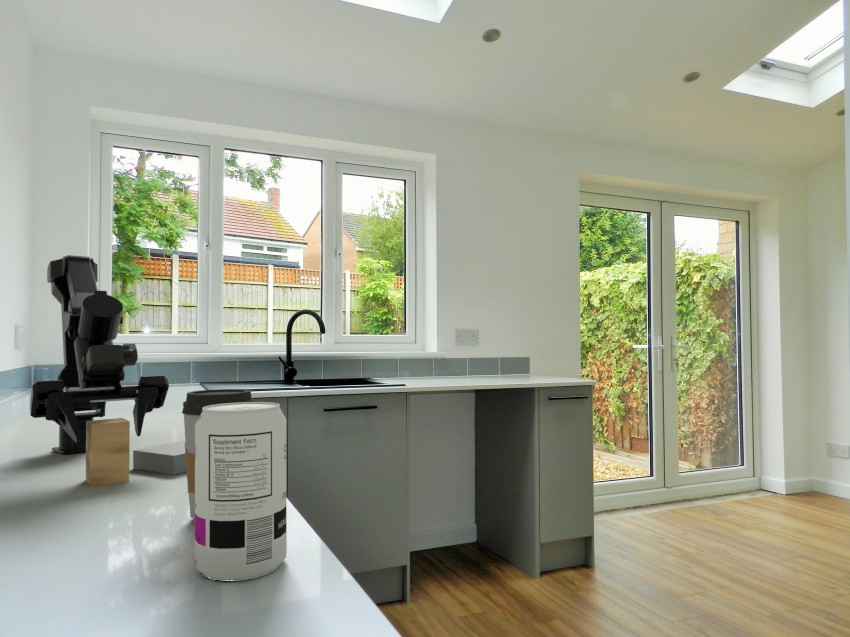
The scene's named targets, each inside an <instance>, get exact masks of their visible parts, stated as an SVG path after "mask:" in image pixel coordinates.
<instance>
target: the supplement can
mask: <svg viewBox="0 0 850 637" xmlns="http://www.w3.org/2000/svg"><path fill="white" fill-rule="evenodd" d="M287 528H288V527H287V417H286V416H285V415H284V412H283V411H282V409H281V407H280V403H277V402H268V401H267V402H266V401H265V402H264V401H254V402H238V403H224V404H216V405H210V406H205V407H203V408H202V413H201V415H200V417H199V419H198V421H197V423H196V424H195V523H194V567H195V568H196V571H198V572H199V573H203V574H204V575H203V574H202V575H203V576H207V577H210V578H211V579H216V580H225V581H226V580H229V581H230V580H234V581H235V582H242V581H243V580H244V581H248V580H249V579H250V580H255V579H257V578H261V577H264V576H267V575H268V574H270V573H272V572H274V571H275V570H276V569H278V568H279V566H280V565H281V563H283V561H284V560H285V559H286V558H287V551H288V550H287V548H288V546H287V544H288V543H287ZM211 579H210V580H211ZM241 580H242V581H241ZM244 581H243V582H244Z"/></svg>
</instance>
